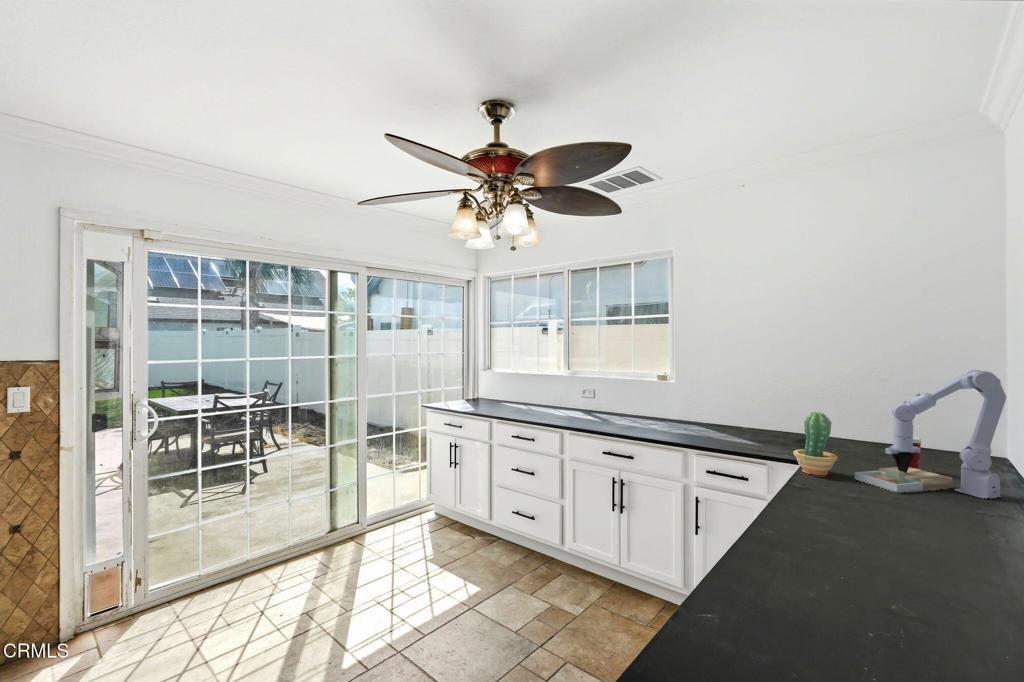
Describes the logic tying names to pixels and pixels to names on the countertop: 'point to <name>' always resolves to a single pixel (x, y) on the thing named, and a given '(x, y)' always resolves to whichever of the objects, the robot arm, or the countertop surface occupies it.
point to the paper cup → (915, 461)
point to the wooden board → (926, 478)
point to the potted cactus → (816, 445)
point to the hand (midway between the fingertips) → (902, 472)
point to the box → (898, 488)
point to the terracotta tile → (886, 478)
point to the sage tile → (896, 475)
